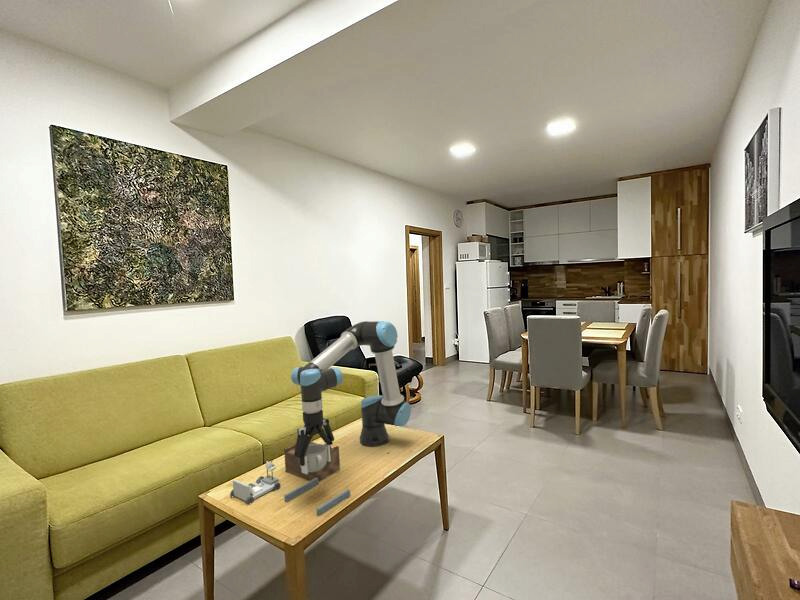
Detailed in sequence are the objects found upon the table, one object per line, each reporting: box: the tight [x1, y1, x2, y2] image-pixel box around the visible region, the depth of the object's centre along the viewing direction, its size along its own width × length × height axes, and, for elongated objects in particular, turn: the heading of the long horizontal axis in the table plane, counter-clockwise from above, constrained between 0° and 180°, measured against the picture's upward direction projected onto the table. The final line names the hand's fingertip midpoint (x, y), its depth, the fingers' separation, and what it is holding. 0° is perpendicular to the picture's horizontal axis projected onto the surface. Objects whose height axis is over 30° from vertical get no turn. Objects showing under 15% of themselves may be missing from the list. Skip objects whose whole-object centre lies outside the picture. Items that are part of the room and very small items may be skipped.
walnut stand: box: [283, 439, 341, 482], centre depth 178 cm, size 14×20×10 cm
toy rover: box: [229, 459, 282, 505], centre depth 162 cm, size 18×10×12 cm
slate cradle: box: [284, 478, 351, 517], centre depth 154 cm, size 16×19×2 cm
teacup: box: [299, 443, 327, 472], centre depth 153 cm, size 14×11×8 cm
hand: (316, 466), depth 154 cm, fingers closed on teacup, 11 cm apart
